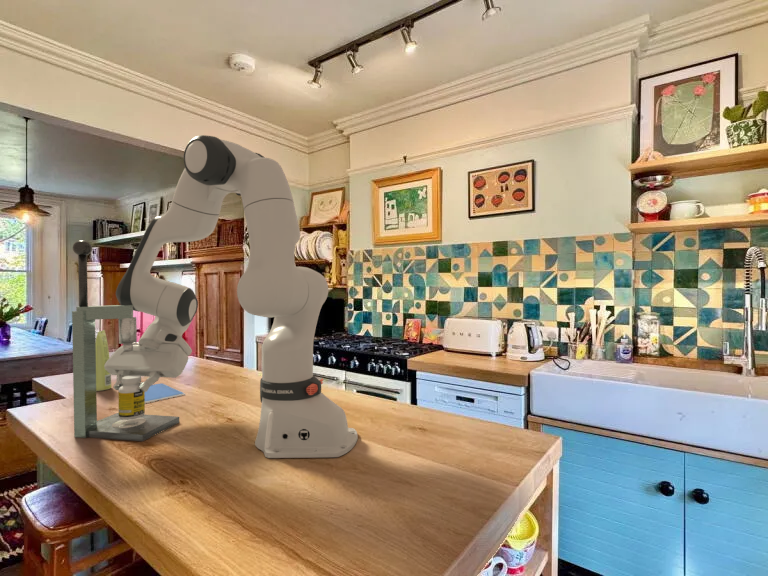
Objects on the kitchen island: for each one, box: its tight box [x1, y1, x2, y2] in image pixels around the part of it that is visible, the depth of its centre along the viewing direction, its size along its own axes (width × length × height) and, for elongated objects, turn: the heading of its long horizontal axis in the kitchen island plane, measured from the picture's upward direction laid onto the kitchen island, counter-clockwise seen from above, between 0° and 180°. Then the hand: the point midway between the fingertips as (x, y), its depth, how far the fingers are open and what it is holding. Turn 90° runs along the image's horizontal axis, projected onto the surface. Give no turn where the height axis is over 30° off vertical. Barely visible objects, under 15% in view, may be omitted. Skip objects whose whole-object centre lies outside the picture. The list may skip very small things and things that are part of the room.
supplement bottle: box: [117, 375, 146, 420], centre depth 97 cm, size 5×5×10 cm
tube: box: [95, 329, 112, 392], centre depth 133 cm, size 6×5×20 cm
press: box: [71, 240, 180, 442], centre depth 96 cm, size 18×13×45 cm
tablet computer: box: [145, 383, 186, 405], centre depth 127 cm, size 19×13×1 cm, turn 49°
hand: (129, 389), depth 97 cm, fingers closed on supplement bottle, 5 cm apart
